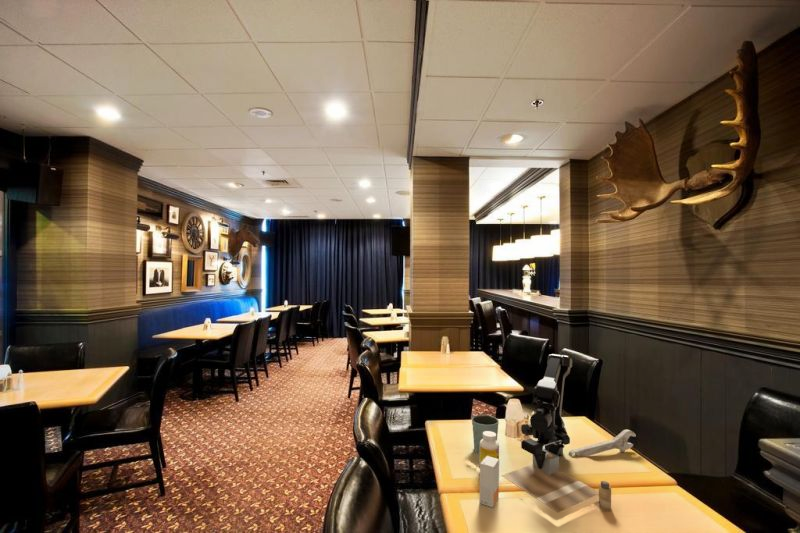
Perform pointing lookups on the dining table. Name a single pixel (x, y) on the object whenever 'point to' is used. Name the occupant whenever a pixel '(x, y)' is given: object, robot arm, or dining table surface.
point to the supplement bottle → (489, 446)
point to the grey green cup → (483, 428)
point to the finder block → (548, 463)
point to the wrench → (607, 445)
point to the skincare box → (489, 481)
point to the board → (551, 487)
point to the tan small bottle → (605, 496)
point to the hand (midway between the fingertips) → (545, 466)
